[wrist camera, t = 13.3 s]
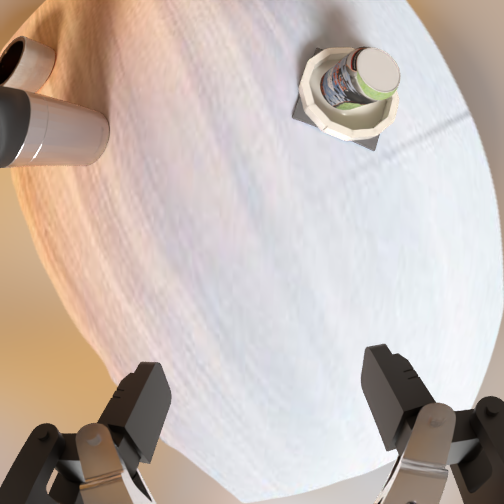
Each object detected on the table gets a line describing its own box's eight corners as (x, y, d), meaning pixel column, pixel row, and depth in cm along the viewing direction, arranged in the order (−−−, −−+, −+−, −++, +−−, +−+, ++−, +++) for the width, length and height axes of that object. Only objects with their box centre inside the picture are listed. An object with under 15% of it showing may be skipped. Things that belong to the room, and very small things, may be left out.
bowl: (287, 119, 33) (289, 113, 30) (314, 43, 30) (317, 34, 27) (377, 155, 33) (385, 153, 30) (396, 79, 30) (405, 73, 27)
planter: (60, 39, 30) (31, 25, 21) (54, 83, 33) (20, 72, 24) (26, 62, 31) (-3, 53, 22) (20, 104, 34) (-12, 99, 25)
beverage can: (331, 64, 30) (354, 22, 18) (376, 95, 30) (415, 66, 19) (308, 96, 31) (325, 59, 20) (355, 127, 32) (392, 106, 20)
